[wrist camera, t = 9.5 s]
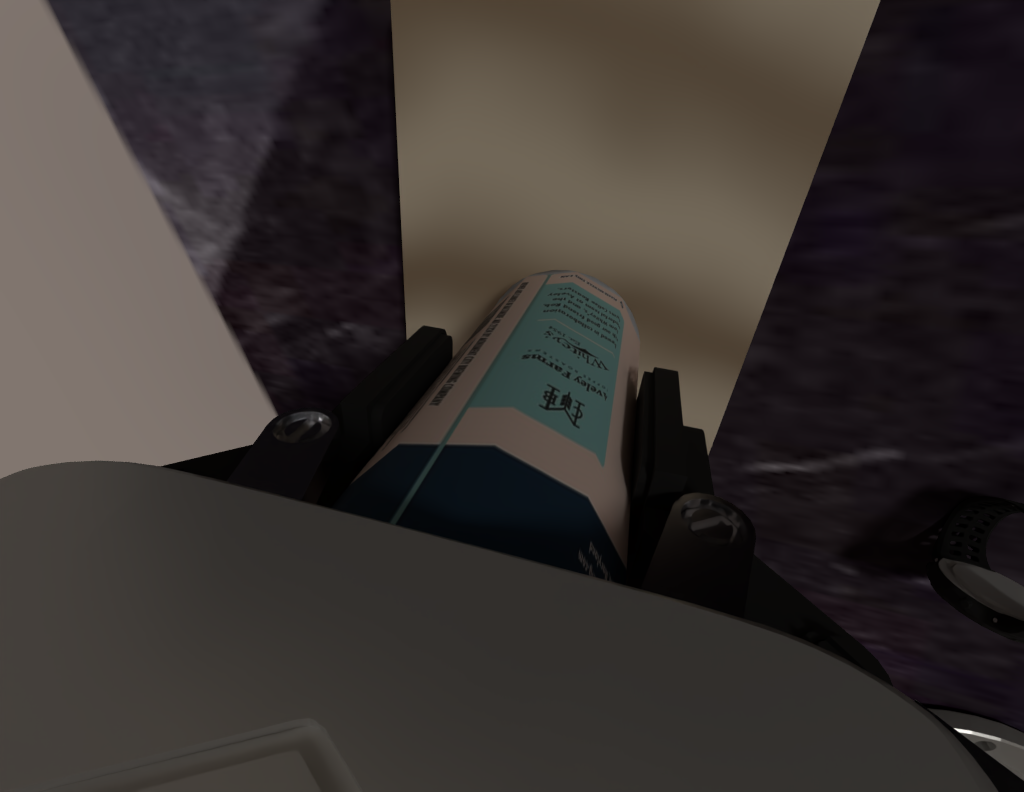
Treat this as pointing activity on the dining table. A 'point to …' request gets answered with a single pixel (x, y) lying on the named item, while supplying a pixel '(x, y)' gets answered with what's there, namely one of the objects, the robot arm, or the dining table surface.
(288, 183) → the dining table surface
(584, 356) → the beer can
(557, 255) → the birch board
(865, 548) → the dining table surface
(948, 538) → the smartwatch
